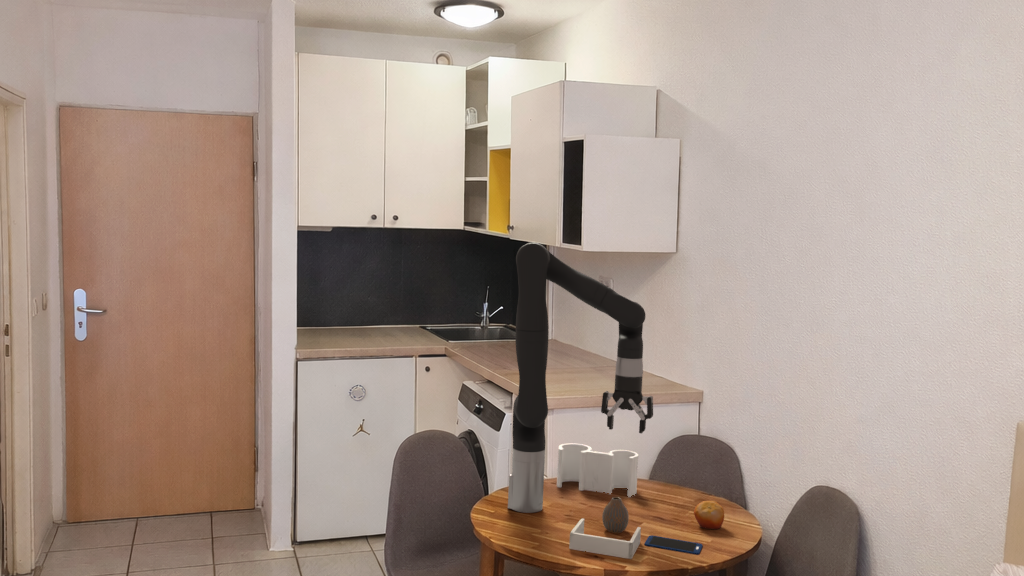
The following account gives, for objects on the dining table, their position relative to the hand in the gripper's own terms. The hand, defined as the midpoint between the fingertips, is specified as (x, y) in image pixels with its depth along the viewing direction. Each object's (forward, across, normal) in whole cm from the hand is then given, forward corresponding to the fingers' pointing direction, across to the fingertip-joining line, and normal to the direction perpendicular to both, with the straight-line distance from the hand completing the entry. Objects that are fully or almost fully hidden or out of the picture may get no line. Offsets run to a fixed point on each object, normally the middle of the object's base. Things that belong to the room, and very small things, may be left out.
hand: (626, 430), depth 230 cm
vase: (+24, +1, -13) cm, 28 cm away
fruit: (+24, +24, +1) cm, 34 cm away
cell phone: (+24, +17, -17) cm, 34 cm away
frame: (+24, +2, -25) cm, 35 cm away
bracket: (+24, -13, +21) cm, 35 cm away
